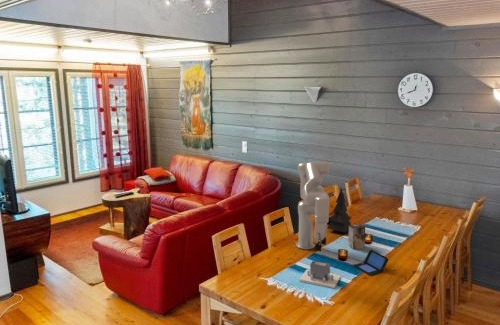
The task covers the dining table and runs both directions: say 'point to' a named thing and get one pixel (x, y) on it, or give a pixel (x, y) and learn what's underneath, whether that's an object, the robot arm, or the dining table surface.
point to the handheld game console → (373, 263)
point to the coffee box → (356, 236)
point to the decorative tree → (340, 215)
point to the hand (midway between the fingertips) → (320, 247)
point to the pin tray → (330, 283)
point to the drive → (320, 270)
